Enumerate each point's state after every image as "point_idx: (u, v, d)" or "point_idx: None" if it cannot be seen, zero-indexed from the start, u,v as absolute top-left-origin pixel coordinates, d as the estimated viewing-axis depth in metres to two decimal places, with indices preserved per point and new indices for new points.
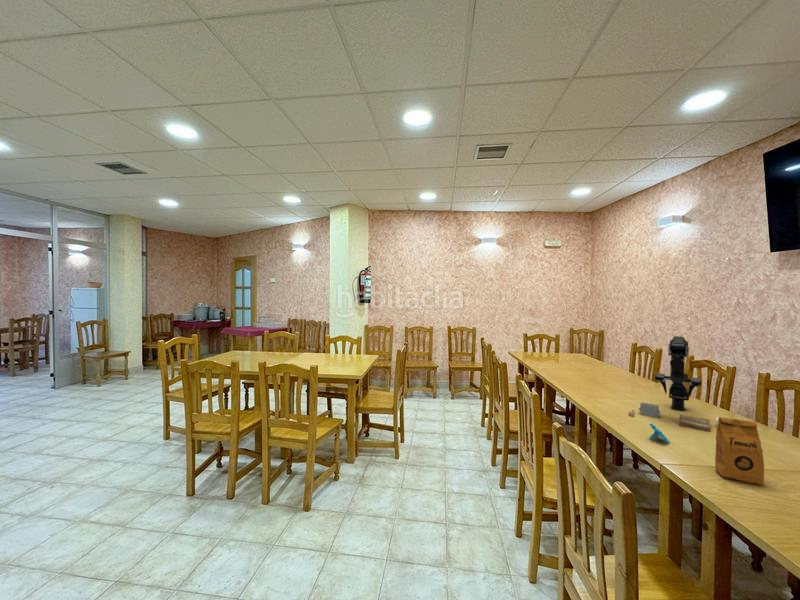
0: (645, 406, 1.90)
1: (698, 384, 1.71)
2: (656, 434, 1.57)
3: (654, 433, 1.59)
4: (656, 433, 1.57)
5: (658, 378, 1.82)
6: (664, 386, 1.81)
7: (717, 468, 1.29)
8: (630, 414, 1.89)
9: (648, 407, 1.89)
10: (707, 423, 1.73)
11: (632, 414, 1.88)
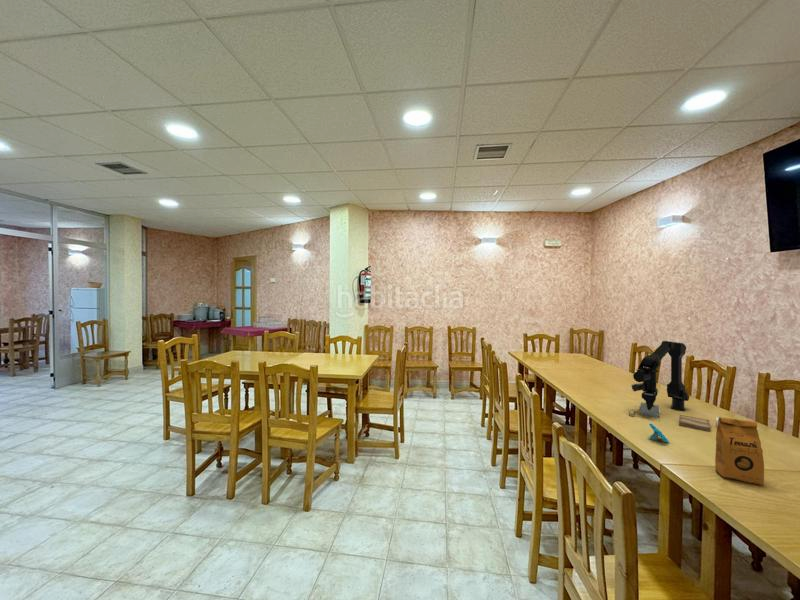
0: (645, 406, 1.90)
1: None
2: (656, 434, 1.57)
3: (654, 433, 1.59)
4: (656, 433, 1.58)
5: None
6: None
7: (717, 468, 1.29)
8: (630, 414, 1.89)
9: None
10: (707, 423, 1.73)
11: (632, 414, 1.88)
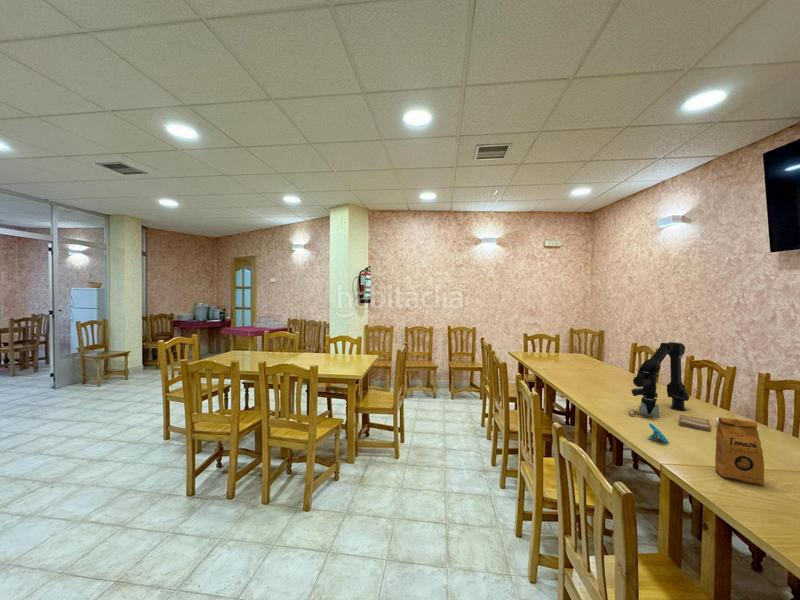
0: (645, 406, 1.90)
1: (641, 401, 1.86)
2: (655, 434, 1.58)
3: (653, 433, 1.59)
4: (655, 433, 1.58)
5: None
6: None
7: (717, 468, 1.29)
8: (630, 414, 1.89)
9: None
10: (707, 423, 1.73)
11: (632, 414, 1.88)
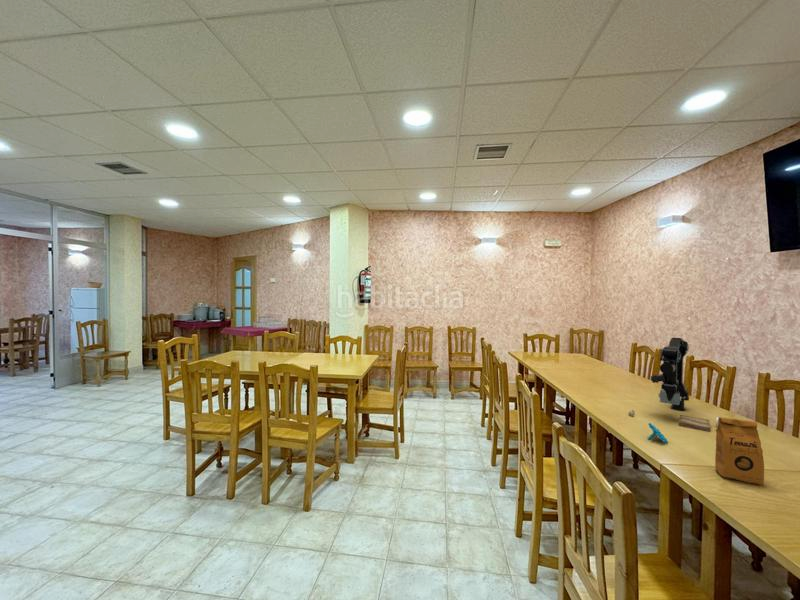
0: (665, 393, 1.83)
1: (661, 387, 1.79)
2: (654, 434, 1.58)
3: (653, 433, 1.59)
4: (654, 433, 1.58)
5: None
6: None
7: (717, 468, 1.29)
8: (630, 414, 1.89)
9: None
10: (707, 423, 1.73)
11: (632, 414, 1.88)
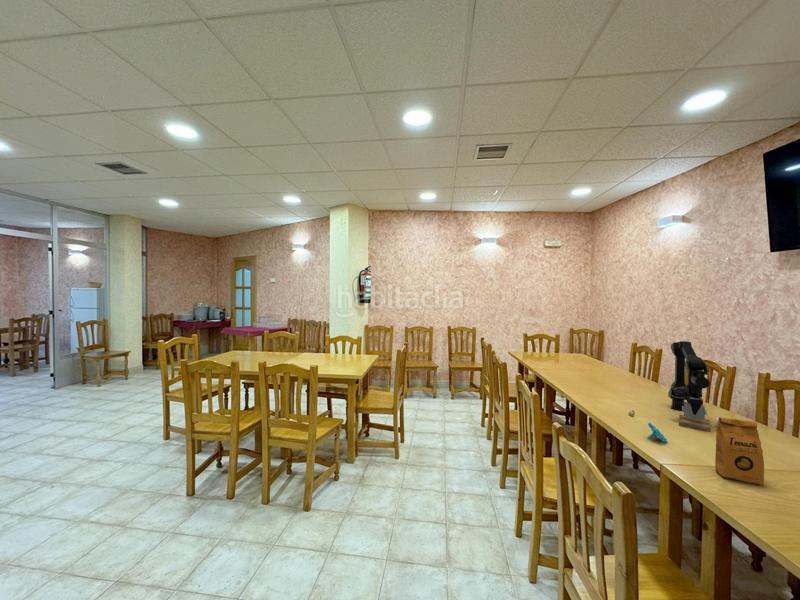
0: (690, 406, 1.76)
1: None
2: (654, 433, 1.58)
3: None
4: (654, 432, 1.58)
5: None
6: None
7: (717, 468, 1.29)
8: (630, 414, 1.89)
9: None
10: (707, 423, 1.73)
11: (632, 414, 1.88)
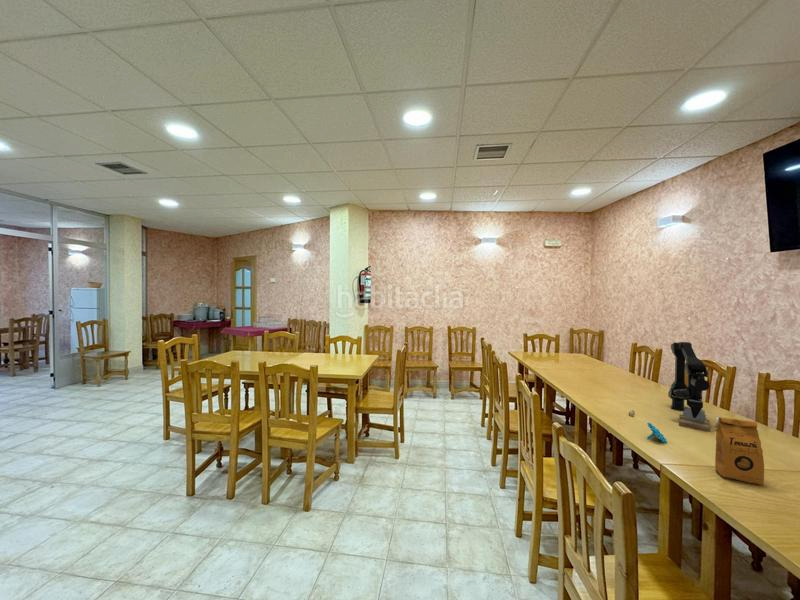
0: (690, 411, 1.76)
1: None
2: (654, 433, 1.58)
3: (652, 432, 1.59)
4: (654, 432, 1.58)
5: None
6: None
7: (717, 468, 1.29)
8: (630, 414, 1.89)
9: None
10: (707, 423, 1.73)
11: (632, 414, 1.88)
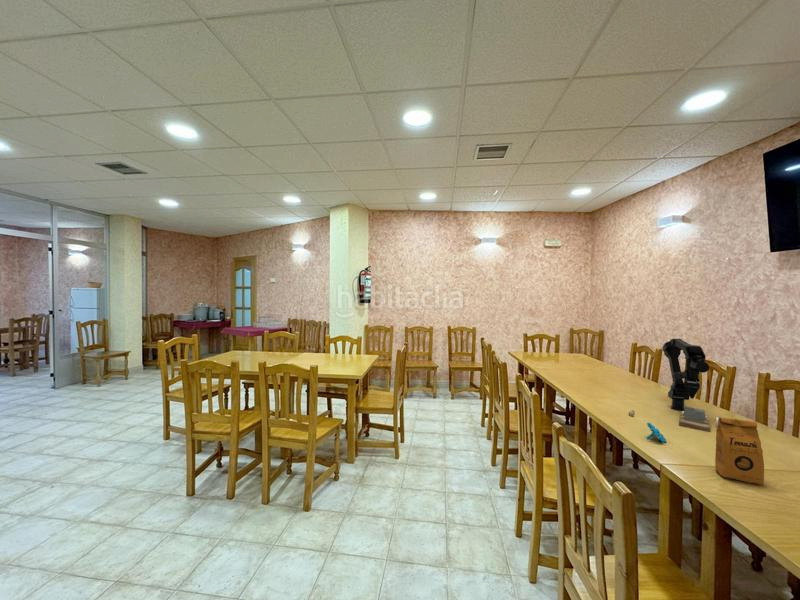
0: (690, 411, 1.76)
1: (684, 384, 1.82)
2: (653, 433, 1.58)
3: None
4: (653, 432, 1.58)
5: None
6: None
7: (717, 468, 1.29)
8: (630, 414, 1.89)
9: (693, 412, 1.75)
10: (707, 423, 1.73)
11: (632, 414, 1.88)
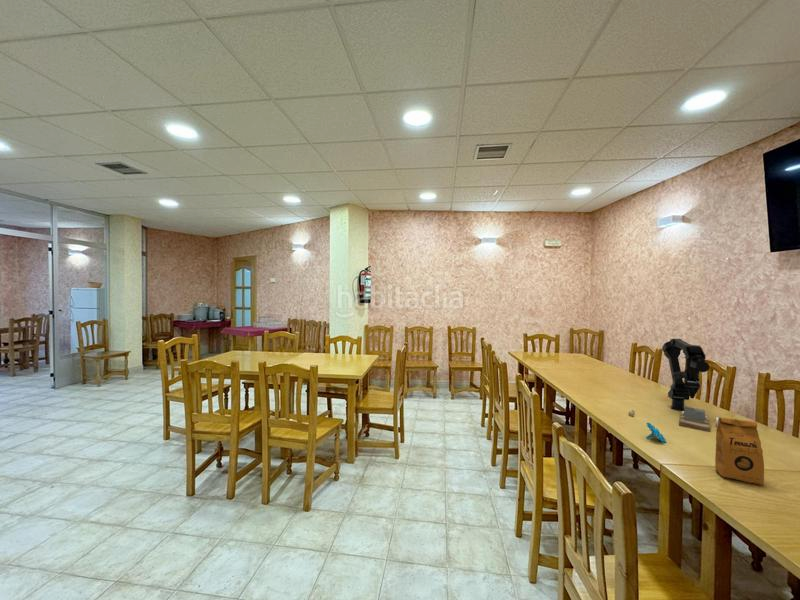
0: (690, 411, 1.76)
1: (684, 384, 1.82)
2: (653, 433, 1.58)
3: None
4: (653, 432, 1.59)
5: None
6: None
7: (717, 468, 1.29)
8: (630, 414, 1.89)
9: (693, 412, 1.75)
10: (707, 423, 1.73)
11: (632, 414, 1.88)
